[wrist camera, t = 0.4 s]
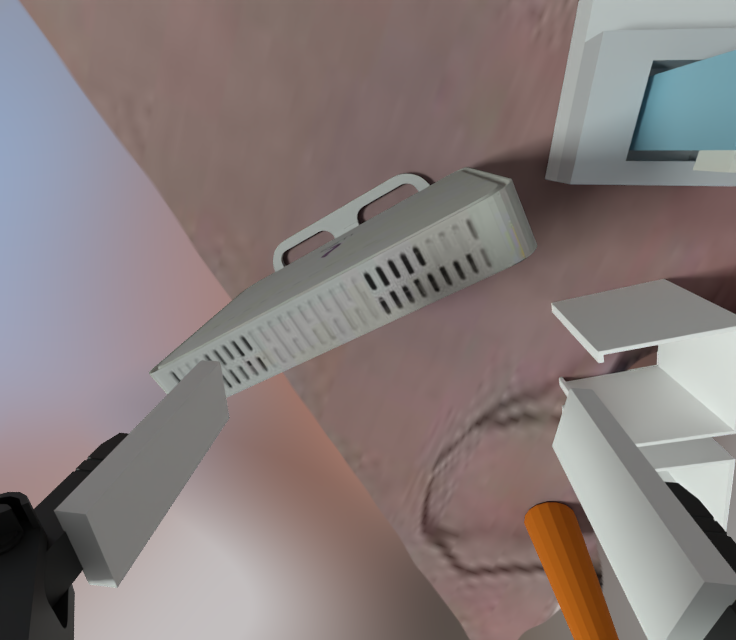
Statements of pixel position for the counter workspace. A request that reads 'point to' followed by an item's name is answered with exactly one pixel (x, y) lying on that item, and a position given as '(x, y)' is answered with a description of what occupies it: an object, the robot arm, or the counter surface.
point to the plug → (692, 113)
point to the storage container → (666, 380)
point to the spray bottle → (570, 570)
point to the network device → (361, 276)
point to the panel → (630, 21)
